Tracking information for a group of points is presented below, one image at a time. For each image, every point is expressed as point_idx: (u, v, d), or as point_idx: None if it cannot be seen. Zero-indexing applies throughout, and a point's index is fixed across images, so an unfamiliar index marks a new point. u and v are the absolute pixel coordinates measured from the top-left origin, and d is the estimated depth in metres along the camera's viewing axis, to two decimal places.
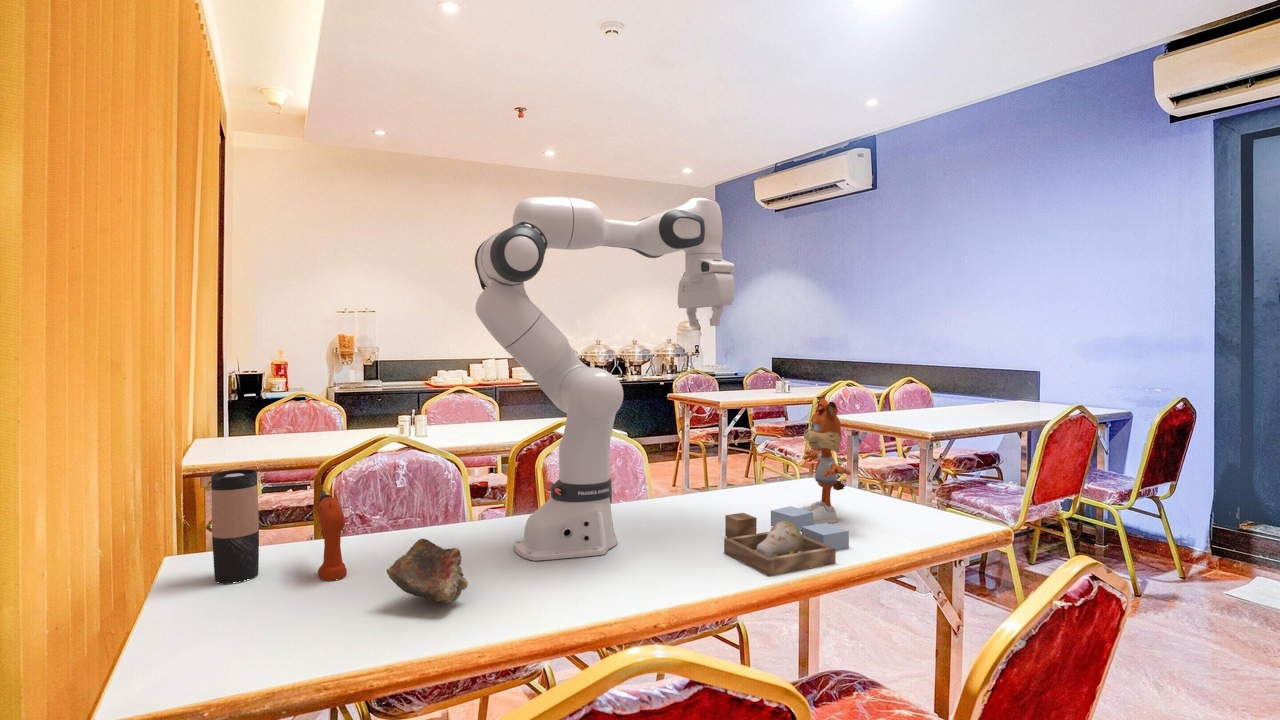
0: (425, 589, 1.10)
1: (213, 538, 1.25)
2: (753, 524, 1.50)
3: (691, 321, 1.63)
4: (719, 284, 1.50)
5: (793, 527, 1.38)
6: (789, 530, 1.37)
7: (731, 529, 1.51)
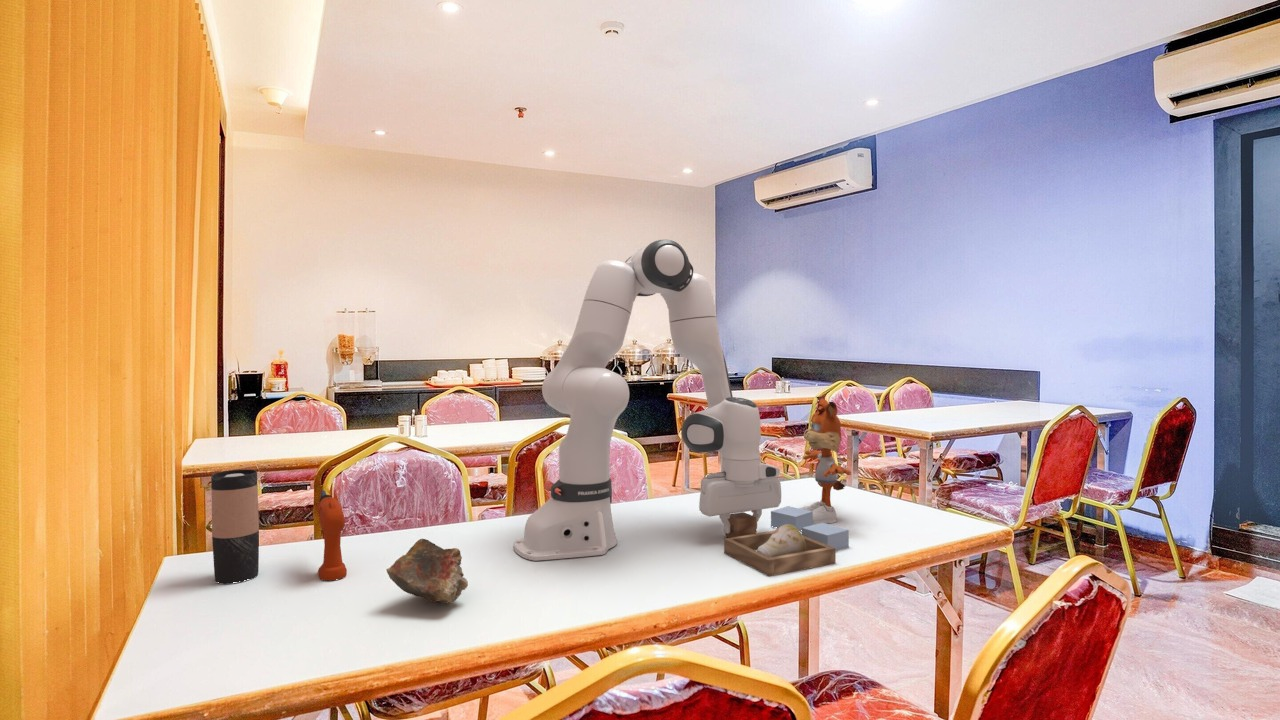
0: (425, 589, 1.10)
1: (213, 538, 1.25)
2: (752, 523, 1.50)
3: (732, 527, 1.50)
4: None
5: (795, 531, 1.35)
6: (790, 533, 1.34)
7: None
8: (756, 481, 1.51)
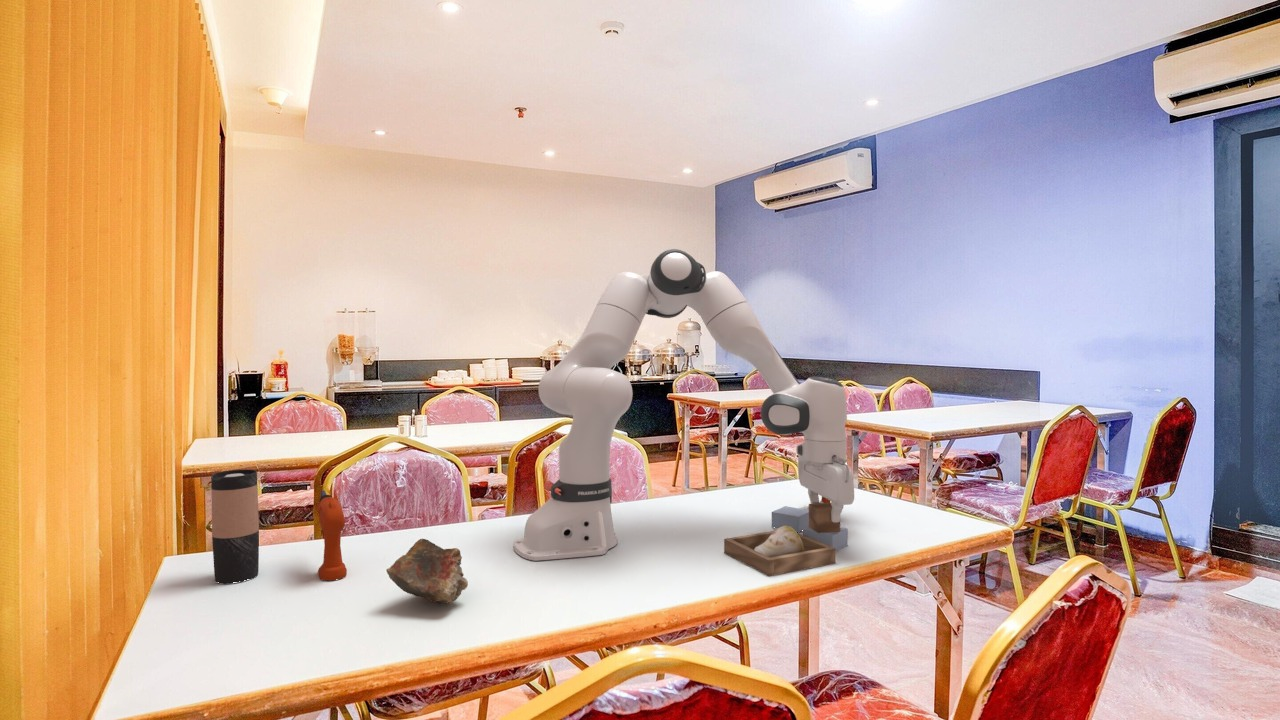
0: (425, 589, 1.10)
1: (213, 538, 1.25)
2: None
3: None
4: None
5: (793, 532, 1.34)
6: (787, 535, 1.33)
7: (828, 521, 1.43)
8: None
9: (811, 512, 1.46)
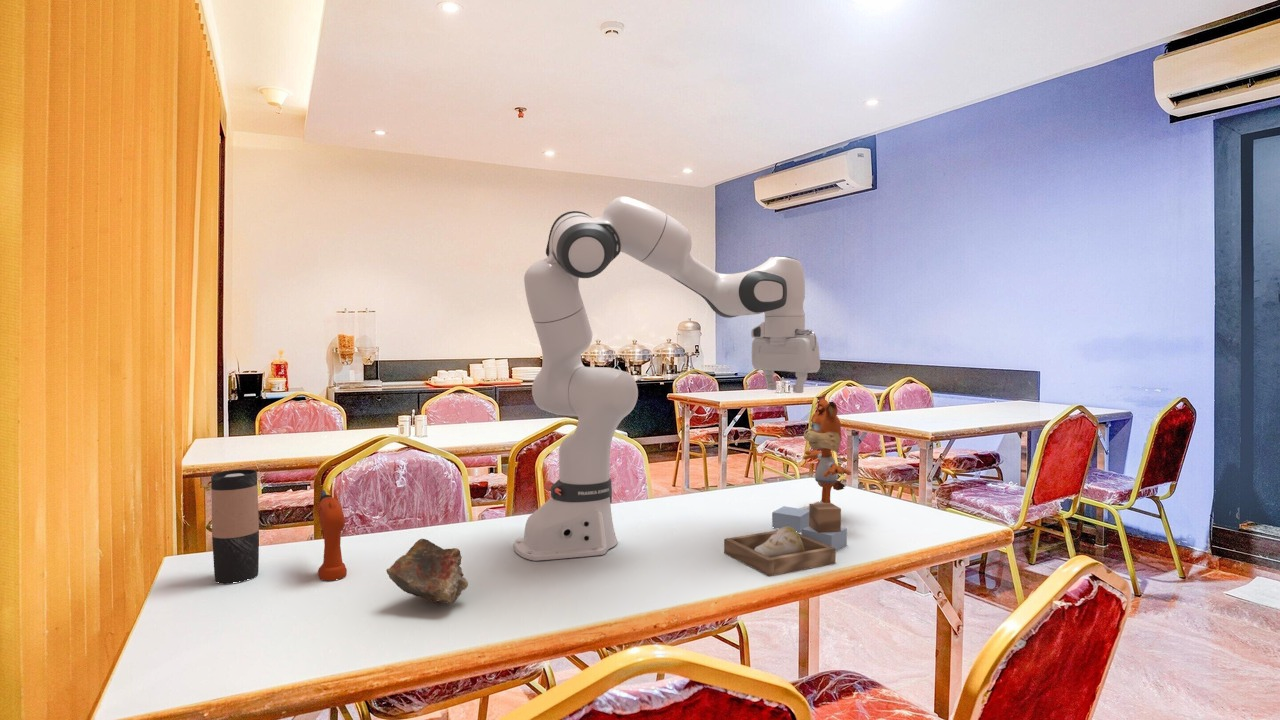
0: (425, 589, 1.10)
1: (213, 538, 1.25)
2: None
3: None
4: None
5: (793, 533, 1.34)
6: (788, 535, 1.33)
7: (829, 521, 1.43)
8: None
9: (812, 512, 1.46)
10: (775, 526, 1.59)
